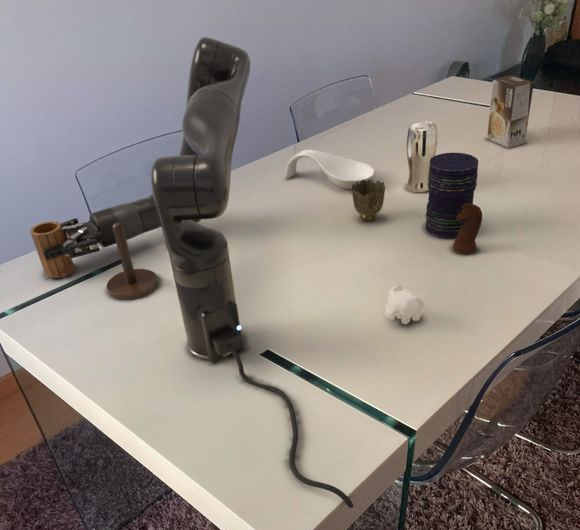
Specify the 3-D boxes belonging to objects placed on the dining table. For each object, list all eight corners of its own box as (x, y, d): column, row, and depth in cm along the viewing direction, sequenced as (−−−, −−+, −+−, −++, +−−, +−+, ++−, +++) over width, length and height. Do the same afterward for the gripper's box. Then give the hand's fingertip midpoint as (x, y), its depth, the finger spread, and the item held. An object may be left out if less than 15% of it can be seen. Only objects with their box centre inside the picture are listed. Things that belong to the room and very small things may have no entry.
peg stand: (166, 288, 127) (151, 224, 119) (118, 305, 123) (100, 240, 115) (146, 268, 134) (131, 206, 126) (100, 284, 130) (82, 222, 122)
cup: (346, 223, 144) (345, 190, 139) (359, 209, 149) (359, 177, 144) (377, 228, 141) (378, 194, 136) (389, 214, 146) (390, 181, 141)
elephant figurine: (375, 315, 114) (376, 287, 111) (415, 304, 116) (416, 276, 113) (393, 335, 109) (394, 306, 106) (434, 323, 111) (437, 294, 107)
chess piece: (453, 243, 133) (457, 198, 127) (478, 244, 132) (484, 199, 126) (451, 254, 130) (456, 208, 124) (477, 255, 128) (483, 209, 122)
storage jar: (437, 242, 134) (442, 174, 125) (417, 223, 141) (420, 157, 132) (480, 233, 135) (488, 165, 126) (458, 214, 143) (464, 149, 134)
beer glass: (433, 193, 153) (437, 131, 144) (404, 193, 154) (406, 131, 145) (434, 181, 158) (438, 120, 149) (405, 181, 160) (408, 121, 150)
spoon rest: (381, 178, 162) (382, 151, 158) (363, 197, 154) (363, 168, 150) (299, 167, 172) (297, 141, 167) (278, 184, 164) (275, 157, 159)
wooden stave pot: (78, 271, 134) (64, 228, 128) (50, 281, 132) (34, 237, 126) (69, 260, 139) (55, 218, 133) (42, 270, 136) (26, 227, 130)
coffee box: (526, 143, 174) (535, 81, 164) (507, 148, 172) (516, 86, 162) (503, 134, 181) (511, 74, 171) (485, 138, 179) (492, 78, 169)
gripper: (101, 197, 140) (24, 220, 133) (125, 219, 130) (43, 245, 124) (109, 228, 145) (35, 252, 138) (133, 252, 135) (55, 279, 128)
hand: (40, 249), depth 131 cm, fingers closed on wooden stave pot, 6 cm apart
